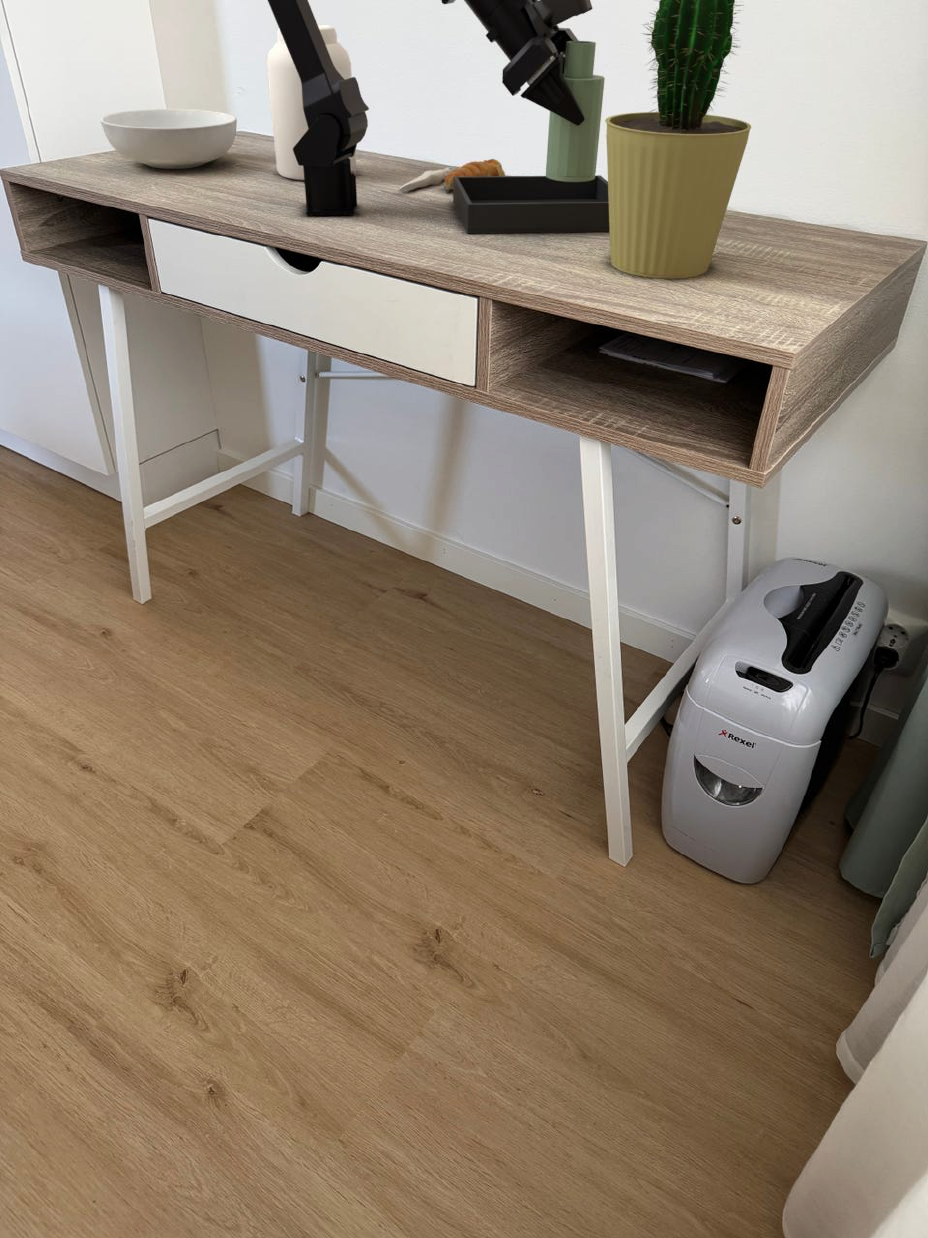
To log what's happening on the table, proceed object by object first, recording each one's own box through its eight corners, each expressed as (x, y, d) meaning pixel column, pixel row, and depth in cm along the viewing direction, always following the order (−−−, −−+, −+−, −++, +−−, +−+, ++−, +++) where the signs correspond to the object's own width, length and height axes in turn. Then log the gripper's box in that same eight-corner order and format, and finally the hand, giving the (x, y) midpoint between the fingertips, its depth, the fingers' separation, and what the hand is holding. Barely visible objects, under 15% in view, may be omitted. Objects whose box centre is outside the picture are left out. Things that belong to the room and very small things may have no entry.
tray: (467, 233, 118) (467, 204, 116) (453, 203, 132) (453, 176, 130) (629, 231, 120) (632, 202, 118) (598, 201, 134) (600, 175, 132)
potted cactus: (591, 244, 115) (618, -56, 97) (717, 249, 113) (768, -53, 96) (592, 280, 102) (624, -56, 84) (734, 286, 101) (796, -53, 83)
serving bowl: (226, 178, 143) (220, 128, 139) (91, 175, 143) (81, 125, 139) (252, 153, 160) (247, 108, 156) (132, 151, 160) (124, 106, 156)
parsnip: (441, 177, 147) (441, 164, 146) (455, 179, 146) (456, 166, 145) (391, 194, 136) (391, 180, 135) (406, 196, 135) (406, 182, 134)
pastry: (461, 196, 135) (461, 168, 133) (433, 189, 139) (433, 161, 137) (510, 188, 140) (511, 161, 138) (481, 181, 144) (482, 154, 142)
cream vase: (280, 183, 141) (265, 27, 129) (274, 167, 151) (260, 21, 139) (362, 180, 143) (355, 27, 131) (351, 165, 153) (343, 21, 141)
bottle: (557, 182, 114) (567, 44, 105) (538, 172, 118) (546, 39, 110) (603, 180, 115) (616, 44, 107) (582, 170, 120) (593, 39, 111)
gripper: (537, -53, 96) (629, 75, 101) (567, -53, 111) (647, 59, 115) (463, 33, 103) (553, 150, 107) (501, 23, 117) (579, 126, 122)
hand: (586, 118), depth 113 cm, fingers closed on bottle, 6 cm apart
